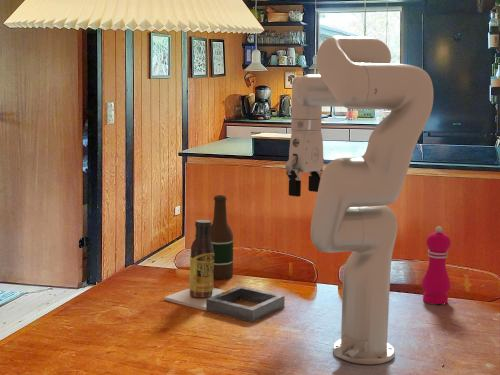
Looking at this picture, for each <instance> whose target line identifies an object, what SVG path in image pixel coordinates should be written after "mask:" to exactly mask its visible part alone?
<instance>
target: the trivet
mask: <svg viewBox="0 0 500 375" xmlns="http://www.w3.org/2000/svg"><path fill="white" fill-rule="evenodd" d="M224 291H226V290H224V289H221V288H215V287H213V290H212V296H210V297H213V296H215V295H218V294H220V293H222V292H224ZM189 292H190V289H189V287H188V288H186V289H182V290H180V291H177V292H174V293H171V294H168V295H166V296H164V297H163V298H164V301H166V302H171V303H175V304H179V305H184V306H186V307H189V308H194V309H199V310H201V311H202V310H203V311H206V299H208V298H210V297H207V298H194V297H192V296H190V293H189Z"/></svg>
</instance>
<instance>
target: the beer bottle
mask: <svg viewBox="0 0 500 375" xmlns="http://www.w3.org/2000/svg"><path fill="white" fill-rule="evenodd" d="M213 201H214V205H213V206H214V207H213V209H214V210H213V219H212V222H211V227H210V239H211V242H212V245H213V250H214V274H213V280H215V279H216V280H217V281H222V280H221V279H225V280H229V279H230V278H232V277H233V275H234V233H233V230H232V228H231V227H230V225H229V224H228V218H227V203H226V202H227V196H226V195H221V194H220V195H219V194H218V195H214V197H213ZM216 280H215V281H216Z"/></svg>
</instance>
